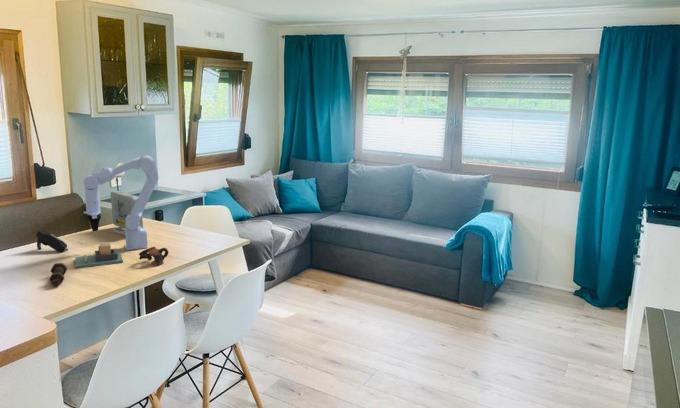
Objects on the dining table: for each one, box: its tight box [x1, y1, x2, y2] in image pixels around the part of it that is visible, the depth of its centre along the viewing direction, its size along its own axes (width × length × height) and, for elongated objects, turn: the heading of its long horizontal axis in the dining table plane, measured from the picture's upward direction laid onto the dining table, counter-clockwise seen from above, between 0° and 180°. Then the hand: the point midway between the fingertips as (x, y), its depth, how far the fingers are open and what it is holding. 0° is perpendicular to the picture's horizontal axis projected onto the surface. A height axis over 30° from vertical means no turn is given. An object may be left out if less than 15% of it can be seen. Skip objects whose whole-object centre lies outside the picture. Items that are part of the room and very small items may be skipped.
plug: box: [97, 242, 112, 255], centre depth 220 cm, size 5×4×6 cm
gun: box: [36, 230, 69, 253], centre depth 233 cm, size 3×16×10 cm, turn 79°
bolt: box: [49, 262, 68, 287], centre depth 196 cm, size 6×5×15 cm
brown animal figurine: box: [138, 246, 169, 267], centre depth 219 cm, size 12×9×8 cm
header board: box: [75, 248, 124, 269], centre depth 219 cm, size 18×13×4 cm
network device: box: [110, 190, 144, 236], centre depth 265 cm, size 26×9×20 cm, turn 49°
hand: (95, 230), depth 232 cm, fingers closed
